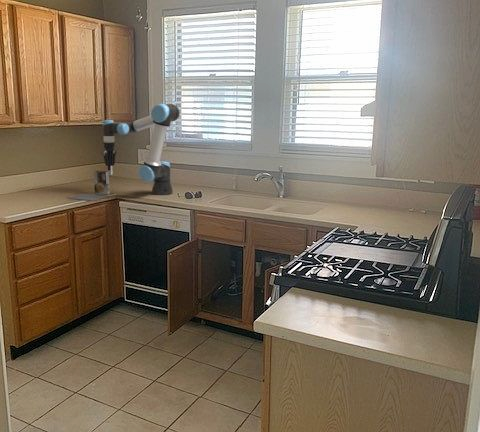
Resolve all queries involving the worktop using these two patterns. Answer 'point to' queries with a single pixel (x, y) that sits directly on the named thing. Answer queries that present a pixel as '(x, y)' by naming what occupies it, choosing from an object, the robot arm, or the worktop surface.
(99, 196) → the mat
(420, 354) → the worktop surface
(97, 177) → the coffee box
